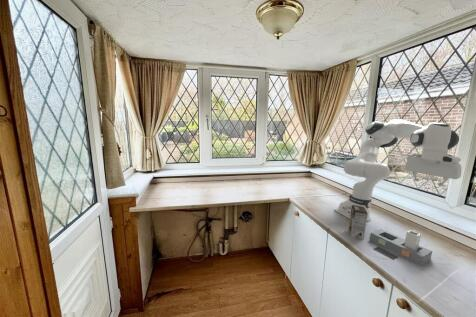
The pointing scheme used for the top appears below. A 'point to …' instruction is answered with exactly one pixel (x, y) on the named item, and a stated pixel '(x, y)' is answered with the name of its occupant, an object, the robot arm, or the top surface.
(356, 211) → the coffee box
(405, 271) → the top surface
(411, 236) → the plug
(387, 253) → the mat
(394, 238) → the socket block
